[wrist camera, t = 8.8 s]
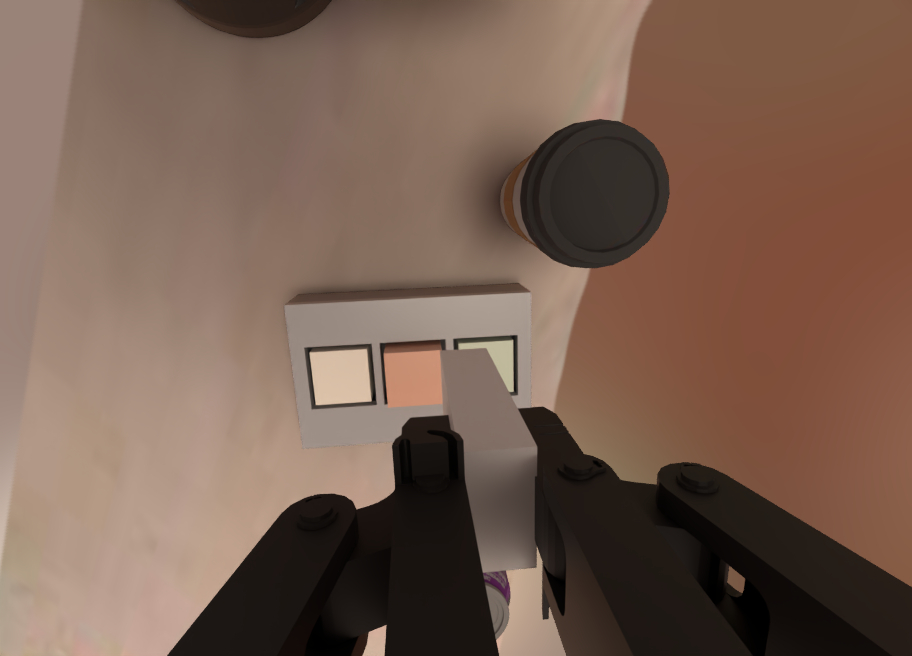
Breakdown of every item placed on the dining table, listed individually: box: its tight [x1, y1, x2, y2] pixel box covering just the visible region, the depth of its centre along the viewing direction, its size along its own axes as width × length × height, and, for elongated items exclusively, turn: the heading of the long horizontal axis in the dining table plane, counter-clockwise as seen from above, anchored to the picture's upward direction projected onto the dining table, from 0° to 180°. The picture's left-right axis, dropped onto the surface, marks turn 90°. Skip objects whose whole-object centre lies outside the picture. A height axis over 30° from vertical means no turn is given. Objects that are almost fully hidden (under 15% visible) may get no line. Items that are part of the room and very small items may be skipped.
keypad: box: [284, 283, 531, 449], centre depth 40 cm, size 12×19×5 cm, turn 92°
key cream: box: [310, 344, 374, 405], centre depth 39 cm, size 4×4×3 cm
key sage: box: [455, 335, 514, 392], centre depth 40 cm, size 4×4×3 cm
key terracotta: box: [384, 340, 443, 408], centre depth 38 cm, size 4×4×3 cm
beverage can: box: [483, 570, 510, 639], centre depth 41 cm, size 7×7×12 cm
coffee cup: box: [500, 119, 669, 268], centre depth 33 cm, size 8×8×15 cm
